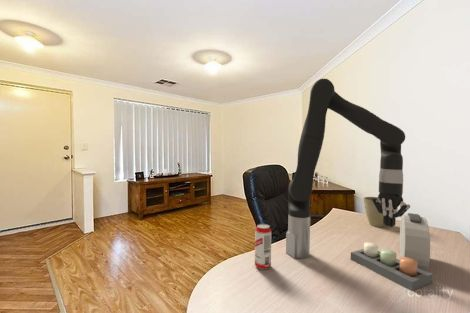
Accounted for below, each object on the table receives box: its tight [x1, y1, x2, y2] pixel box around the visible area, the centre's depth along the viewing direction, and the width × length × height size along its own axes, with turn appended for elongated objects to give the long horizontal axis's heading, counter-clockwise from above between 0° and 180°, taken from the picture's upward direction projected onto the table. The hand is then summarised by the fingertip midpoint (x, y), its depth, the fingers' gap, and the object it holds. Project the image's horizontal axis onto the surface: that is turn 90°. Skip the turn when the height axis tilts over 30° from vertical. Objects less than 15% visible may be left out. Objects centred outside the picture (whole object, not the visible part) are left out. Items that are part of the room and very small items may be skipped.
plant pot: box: [363, 196, 385, 228], centre depth 139 cm, size 15×15×16 cm
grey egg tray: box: [350, 248, 434, 292], centre depth 87 cm, size 12×23×3 cm, turn 24°
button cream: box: [363, 242, 379, 258], centre depth 93 cm, size 5×5×4 cm
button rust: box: [399, 256, 418, 277], centre depth 80 cm, size 5×5×4 cm
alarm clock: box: [399, 212, 431, 272], centre depth 93 cm, size 21×8×20 cm, turn 148°
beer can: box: [254, 223, 272, 271], centre depth 88 cm, size 6×6×16 cm
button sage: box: [380, 248, 397, 267], centre depth 87 cm, size 5×5×4 cm
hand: (389, 226), depth 86 cm, fingers closed
